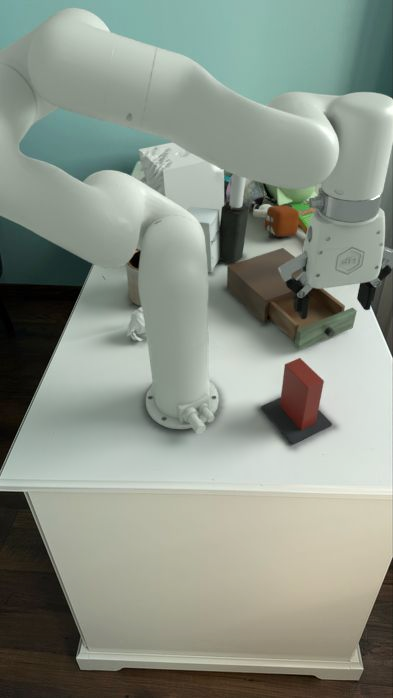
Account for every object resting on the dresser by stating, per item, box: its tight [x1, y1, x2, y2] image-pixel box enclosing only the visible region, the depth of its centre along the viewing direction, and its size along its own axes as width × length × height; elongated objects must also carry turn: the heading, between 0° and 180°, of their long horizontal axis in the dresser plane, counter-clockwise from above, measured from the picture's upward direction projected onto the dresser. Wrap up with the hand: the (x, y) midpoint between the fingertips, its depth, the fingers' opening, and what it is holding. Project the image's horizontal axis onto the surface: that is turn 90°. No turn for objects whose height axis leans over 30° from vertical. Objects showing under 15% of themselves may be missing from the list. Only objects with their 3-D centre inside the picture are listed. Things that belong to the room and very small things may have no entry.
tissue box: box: [138, 141, 225, 221], centre depth 129 cm, size 20×16×25 cm
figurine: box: [126, 306, 146, 342], centre depth 103 cm, size 7×15×7 cm, turn 122°
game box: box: [290, 201, 316, 235], centre depth 132 cm, size 3×10×20 cm
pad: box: [260, 397, 333, 445], centre depth 86 cm, size 9×8×1 cm
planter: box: [125, 248, 142, 307], centre depth 110 cm, size 11×11×10 cm
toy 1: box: [262, 183, 318, 206], centre depth 139 cm, size 20×19×15 cm
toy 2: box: [252, 203, 299, 237], centre depth 132 cm, size 9×7×15 cm
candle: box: [219, 174, 250, 265], centre depth 115 cm, size 5×5×25 cm
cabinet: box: [226, 247, 307, 325], centre depth 110 cm, size 15×15×6 cm
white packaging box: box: [187, 207, 221, 273], centre depth 118 cm, size 7×7×13 cm
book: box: [280, 357, 325, 430], centre depth 82 cm, size 6×3×10 cm, turn 29°
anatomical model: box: [225, 175, 265, 211], centre depth 139 cm, size 10×12×10 cm
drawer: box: [267, 288, 358, 351], centre depth 102 cm, size 15×13×4 cm
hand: (332, 309), depth 76 cm, fingers open, 9 cm apart
